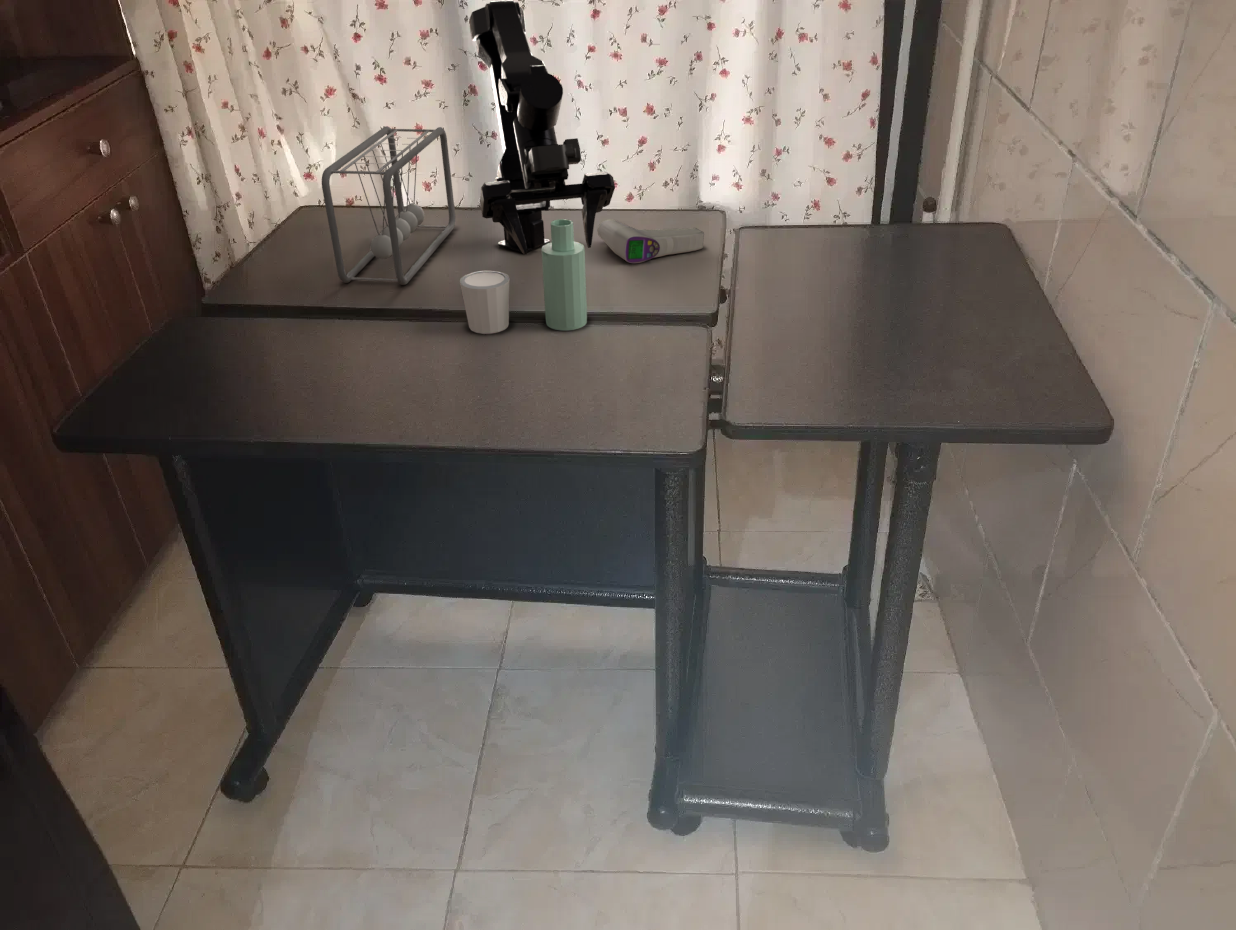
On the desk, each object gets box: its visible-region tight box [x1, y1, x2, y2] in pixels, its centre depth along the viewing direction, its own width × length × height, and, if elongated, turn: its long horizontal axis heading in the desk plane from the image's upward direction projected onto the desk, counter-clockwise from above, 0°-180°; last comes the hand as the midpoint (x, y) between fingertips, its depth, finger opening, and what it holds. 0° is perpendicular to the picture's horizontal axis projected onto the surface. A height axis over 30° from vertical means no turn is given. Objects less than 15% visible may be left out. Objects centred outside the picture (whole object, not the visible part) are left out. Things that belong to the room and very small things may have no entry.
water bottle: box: [540, 218, 588, 332], centre depth 132 cm, size 6×6×14 cm
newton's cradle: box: [321, 125, 456, 286], centre depth 156 cm, size 30×10×18 cm, turn 172°
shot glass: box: [459, 270, 510, 335], centre depth 134 cm, size 7×7×7 cm
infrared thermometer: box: [597, 219, 705, 264], centre depth 161 cm, size 5×12×15 cm
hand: (557, 250), depth 134 cm, fingers open, 9 cm apart
